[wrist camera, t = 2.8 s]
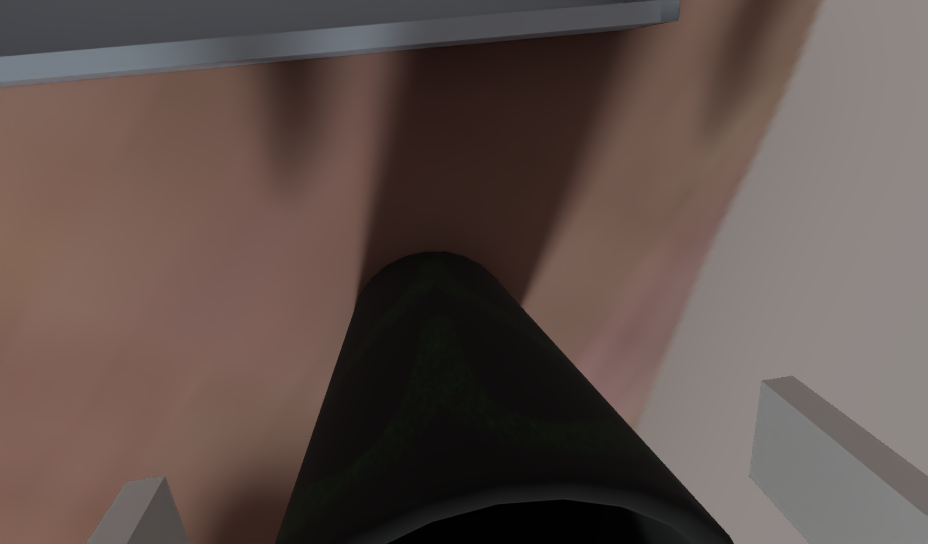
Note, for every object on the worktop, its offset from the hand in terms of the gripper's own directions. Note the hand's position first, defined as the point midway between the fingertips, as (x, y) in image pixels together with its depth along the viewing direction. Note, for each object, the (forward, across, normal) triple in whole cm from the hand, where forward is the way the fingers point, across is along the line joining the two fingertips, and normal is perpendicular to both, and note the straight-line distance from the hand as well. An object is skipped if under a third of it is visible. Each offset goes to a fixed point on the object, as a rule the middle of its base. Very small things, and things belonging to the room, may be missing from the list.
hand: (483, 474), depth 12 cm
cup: (+8, 0, 0) cm, 8 cm away
